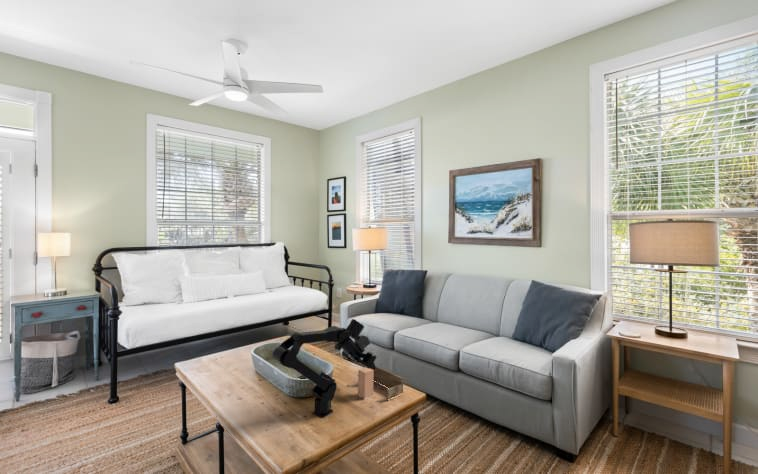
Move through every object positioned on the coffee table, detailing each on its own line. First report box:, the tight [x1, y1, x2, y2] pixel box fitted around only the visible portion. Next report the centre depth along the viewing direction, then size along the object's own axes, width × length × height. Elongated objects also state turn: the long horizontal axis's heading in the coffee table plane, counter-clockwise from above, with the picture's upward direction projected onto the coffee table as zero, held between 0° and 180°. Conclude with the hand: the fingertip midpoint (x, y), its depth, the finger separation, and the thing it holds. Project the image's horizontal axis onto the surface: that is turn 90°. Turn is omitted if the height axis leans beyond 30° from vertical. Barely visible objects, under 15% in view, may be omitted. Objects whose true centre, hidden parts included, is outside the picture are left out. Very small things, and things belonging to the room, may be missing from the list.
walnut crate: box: [372, 365, 404, 400], centre depth 168 cm, size 9×21×8 cm, turn 42°
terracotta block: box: [357, 367, 374, 399], centre depth 162 cm, size 5×5×12 cm
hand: (368, 365), depth 163 cm, fingers open, 9 cm apart
